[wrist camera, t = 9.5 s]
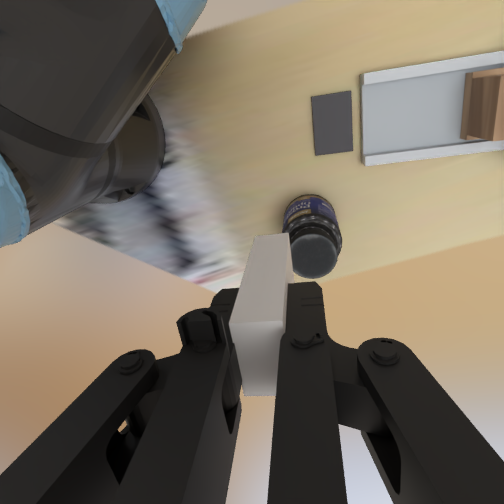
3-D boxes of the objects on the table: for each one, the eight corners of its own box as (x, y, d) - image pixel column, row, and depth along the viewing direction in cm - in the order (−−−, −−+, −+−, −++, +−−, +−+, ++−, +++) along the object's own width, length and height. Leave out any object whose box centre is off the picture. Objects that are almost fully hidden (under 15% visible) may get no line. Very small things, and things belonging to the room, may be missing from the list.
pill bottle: (304, 183, 41) (305, 212, 31) (345, 212, 41) (360, 250, 31) (274, 224, 43) (266, 263, 33) (314, 250, 44) (318, 296, 34)
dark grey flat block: (315, 154, 39) (315, 155, 38) (311, 96, 37) (311, 96, 36) (352, 150, 38) (353, 150, 38) (350, 90, 36) (351, 90, 35)
